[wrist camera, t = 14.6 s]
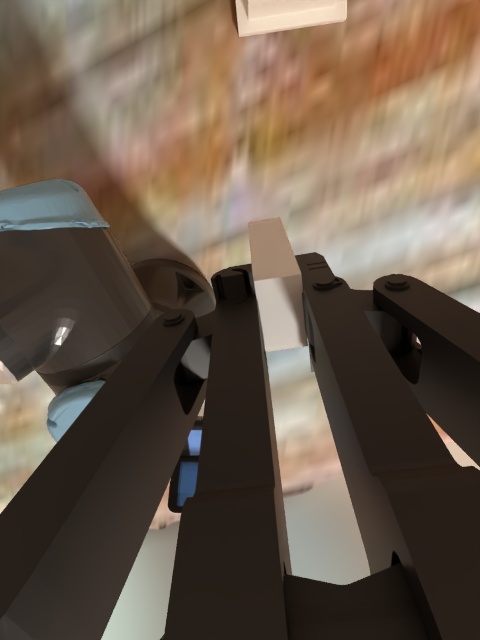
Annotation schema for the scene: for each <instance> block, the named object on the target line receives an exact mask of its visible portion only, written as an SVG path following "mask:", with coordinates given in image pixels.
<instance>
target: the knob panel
mask: <svg viewBox="0 0 480 640" xmlns="http://www.w3.org/2000/svg"><path fill="white" fill-rule="evenodd" d="M236 10H237V21H238V31H239V37H244V36H251V35H257V34H264V33H271V32H277V31H284V30H291V29H297V28H304V27H310V26H317V25H324V24H330V23H337V22H343V21H345V20H346V16H347V0H236Z"/></svg>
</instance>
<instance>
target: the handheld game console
mask: <svg viewBox="0 0 480 640" xmlns="http://www.w3.org/2000/svg"><path fill="white" fill-rule="evenodd" d="M202 425H203V421H195V423H194V425H193V428H192V430H191V432H190V434H189V437H188V439H187V441H186V444H185V446H184V448H183V451H182V453H181V455H180V458H179V460H178V462H177V465H176V467H175V469H174V471H173V474H172V476H171V481H170V487H169V498H168V508H169V510H170V511H171V512H174V513H182V508H183V504H184V502H185V500H186V498H187V497H193V495H194V493H195V488H196V480H197V471H198V462H199V453H200V443H201V434H202Z"/></svg>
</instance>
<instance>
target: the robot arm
mask: <svg viewBox="0 0 480 640" xmlns="http://www.w3.org/2000/svg"><path fill="white" fill-rule="evenodd" d="M248 227H249V239H250V251H251V262H252V264H246V265H240V266H234V267H229V268H227V269H223V270H221V271H219V272H217V273H215V274H214V275H213V276H212V277H211V283H212V287H213V290H212V288H211V287H210V285H209V284H208V282H207V281H206V280H205V279H204V278H203V277H202V276H201V275H200V274H199V273H197V272H196V271H195V270H193V269H192V268H190V267H188V266H186V265H184V264H181V263H179V262H175V261H171V260H165V259H151V260H146V261H142V262H139V263H136V264H134V265H132V266H130V264H129V262H128V260H127V259H126V257H125V255H124V253H123V252H122V250H121V248H120V246H119V244H118V243H117V241H116V239H115V237H114V235H113V234H112V232H111V230H110V225H109V223H108V222H106V221H104V219H103V218H102V216H101V215H100V213H99V212H98V210H97V209H96V207H95V205H94V204H93V202H92V201H91V199H90V198H89V196H88V194H87V193H86V191H85V190H84V189H83V188H82V187H81V186H79V185H78V184H76V183H75V182H73V181H70V180H65V179H51V180H45V181H40V182H35V183H30V184H26V185H21V186H17V187H13V188H9V189H5V190H1V191H0V384H15V383H17V382H18V381H20V380H21V379H22V378H24V377H25V376H27V375H28V374H29V373H31V372H32V371H34V370H35V371H36V372H37V373H38V374H39V375H40V376H41V377H42V379H43V380H44V381H45V382H46V383H47V384H48V386H49V387H50V388H51V389H52V390H53V392H54V393H55V395H56V397H54V398H53V400H52V401H51V403H50V404H49V407H48V419H47V427H48V430H49V433H50V434H51V436H52V437H53V439H54V440H55V441H56V442H57V444H56V445H55V446H54V447H53V449H52V450H51V451H50V452H49V454H48V455H47V456H46V457H45V459H44V460H43V461H42V462H41V464H40V465H39V466H38V467H37V469H36V470H35V471H34V472H33V474H32V475H31V476H30V477H29V479H28V480H27V481H26V483H25V484H24V485H23V486H22V488H21V489H20V490H19V491H18V493H17V494H16V495H15V496H14V498H13V499H12V500H11V501H10V503H9V504H8V505H7V506H6V508H5V509H4V510H3V511H2V513H1V514H0V640H101V638H102V636H103V633H104V631H105V629H106V626H107V624H108V622H109V619H110V617H111V615H112V612H113V610H114V608H115V605H116V603H117V600H118V599H119V596H120V594H121V592H122V589H123V587H124V585H125V582H126V580H127V578H128V575H129V573H130V571H131V569H132V566H133V564H134V562H135V559H136V557H137V554H138V552H139V550H140V548H141V545H142V543H143V541H144V538H145V536H146V534H147V532H148V529H149V527H150V525H151V522H152V520H153V518H154V515H155V513H156V511H157V508H158V506H159V504H160V502H161V499H162V497H163V495H164V492H165V490H166V488H167V485H168V483H169V481H170V478H171V476H172V474H173V471H174V469H175V467H176V465H177V462H178V460H179V458H180V455H181V453H182V451H183V448H184V446H185V444H186V441H187V439H188V437H189V434H190V432H191V430H192V428H193V425H194V423H195V421H196V418H197V416H198V414H199V411H200V409H201V407H202V404H203V402H204V400H205V407H204V416H203V425H202V434H201V443H200V453H199V462H198V471H197V480H196V488H195V493H194V495H193V497H187V498H186V500H185V502H184V504H183V508H182V513H181V518H180V526H179V532H178V540H177V547H176V555H175V562H174V569H173V576H172V583H171V591H170V597H169V605H168V612H167V619H166V627H165V634H164V635H163V636H162V638H161V639H160V640H480V470H478V469H477V468H475V467H474V466H467V467H462V466H460V465H459V464H457V462H456V461H455V460H454V458H453V457H452V455H451V454H450V452H449V450H448V449H447V447H446V445H445V444H444V442H443V440H442V439H441V437H440V435H439V434H438V432H437V431H436V429H435V427H434V426H433V424H432V422H431V421H430V419H429V417H428V416H427V414H428V415H429V416H430V417H431V418H432V419H433V420H434V421H435V422H436V423H437V424H438V425H439V426H440V427H441V429H442V430H443V431H444V432H445V433H446V434H447V435H448V436H449V437H450V438H451V439H452V440H453V441H454V442H455V443H456V444H457V445H459V447H460V448H461V449H462V450H463V451H464V452H465V453H466V454H467V455H468V456H469V457H470V458H471V459H473V461H474V462H475V463H476V464H477V465H478V466H479V467H480V313H478V312H476V311H475V310H473V309H471V308H469V307H467V306H466V305H464V304H462V303H460V302H458V301H456V300H455V299H453V298H451V297H449V296H447V295H446V294H444V293H442V292H440V291H438V290H437V289H435V288H433V287H431V286H429V285H428V284H426V283H424V282H422V281H420V280H418V279H417V278H414V277H411V276H406V275H403V274H397V275H396V274H391V275H388V276H383V277H381V278H378V279H377V280H376V281H375V282H374V284H373V290H354V289H350V288H349V286H348V284H347V283H346V281H345V280H343V279H342V278H339V277H336V276H334V274H333V273H332V271H331V269H330V267H329V266H328V264H327V262H326V260H325V258H324V257H323V256H322V255H320V254H318V253H316V252H314V253H308V254H302V255H296V256H294V253H293V250H292V248H291V245H290V242H289V240H288V237H287V234H286V232H285V229H284V226H283V224H282V221H281V219H280V217H278V218H272V219H266V220H261V221H255V222H249V223H248ZM213 291H214V292H213ZM417 337H418V339H419V341H420V343H421V345H420V344H419V343H417V342H416V340H417ZM307 338H308V341H309V352H310V363H311V372H315V375H316V378H317V382H318V385H319V389H320V392H321V396H322V399H323V403H324V406H325V410H326V413H327V417H328V420H329V424H330V428H331V431H332V435H333V438H334V442H335V445H336V449H337V452H338V456H339V459H340V463H341V466H342V470H343V473H344V477H345V480H346V484H347V487H348V491H349V494H350V498H351V502H352V505H353V509H354V512H355V516H356V519H357V523H358V526H359V529H360V533H361V537H362V540H363V544H364V547H365V551H366V554H367V559H368V562H369V567H370V573H371V575H370V576H368V577H365V578H363V579H361V580H358V581H356V582H353V583H351V584H348V585H336V584H332V583H327V582H322V581H317V580H312V579H307V578H302V577H298V576H293V575H292V570H291V563H290V553H289V545H288V537H287V528H286V519H285V511H284V502H283V494H282V485H281V477H280V468H279V459H278V451H277V442H276V434H275V425H274V417H273V408H272V400H271V391H270V383H269V374H268V366H267V358H266V352H268V351H275V350H282V349H289V348H296V347H303V346H308V342H307ZM205 397H206V398H205ZM426 413H427V414H426Z"/></svg>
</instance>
